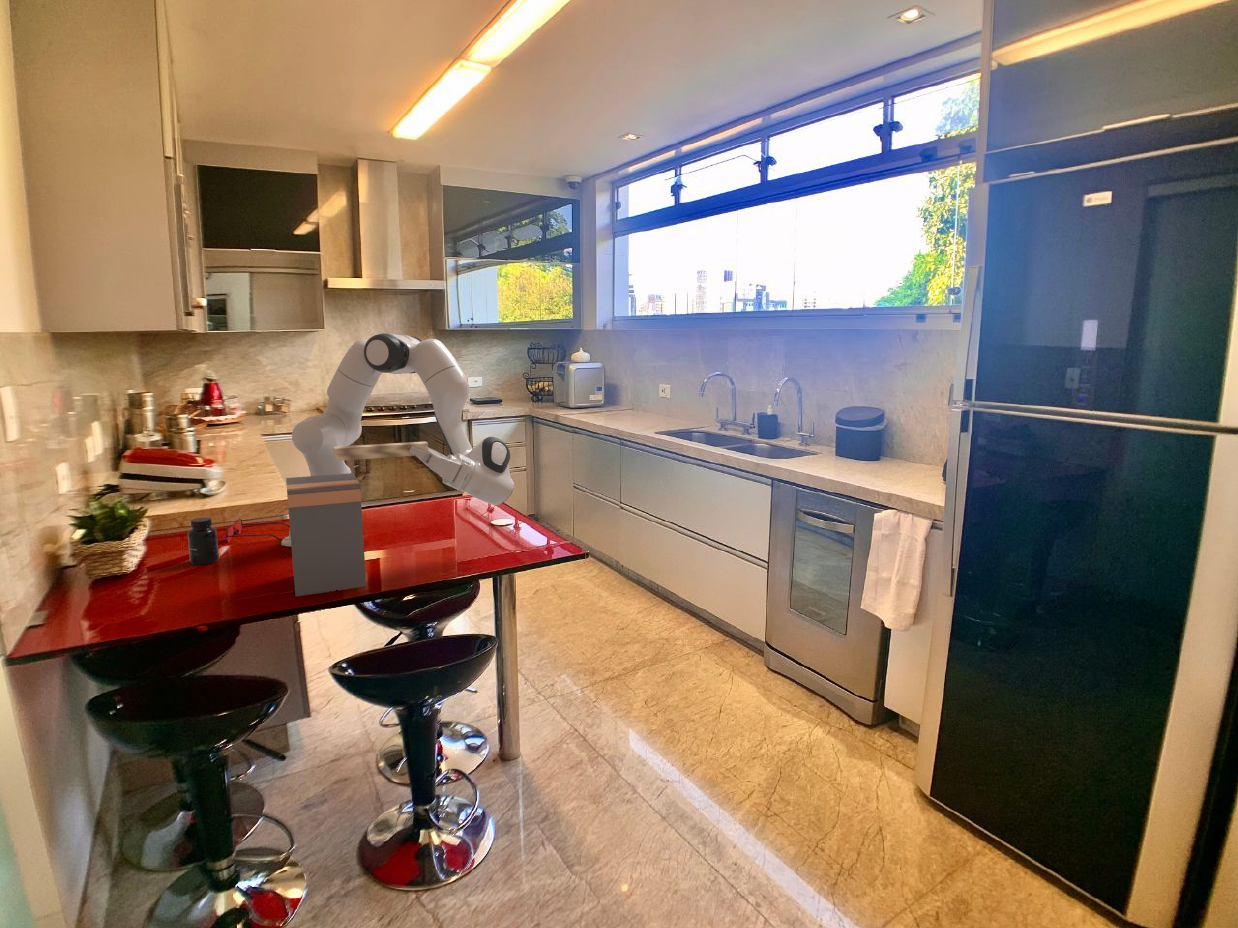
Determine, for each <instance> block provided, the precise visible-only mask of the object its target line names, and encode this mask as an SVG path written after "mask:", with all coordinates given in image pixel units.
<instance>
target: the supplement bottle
mask: <svg viewBox="0 0 1238 928" xmlns="http://www.w3.org/2000/svg"><path fill="white" fill-rule="evenodd" d="M212 525H213V523H212V517H206V516H204V517H202V516H201V517H196V518H193V519H191V520H190V528H191V529H190V530H188V532H187V540H188V553H189V554H188V555H189V562H190V564H192V565H194V566H203V565H210V564H214V563H216V562H217V561H219V558H220V556H219V555H220V554H219V543H218V541H219V540H218V531H217V529H216V528H215V527H214V526H212Z"/></svg>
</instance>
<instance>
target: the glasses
mask: <svg viewBox="0 0 1238 928" xmlns="http://www.w3.org/2000/svg"><path fill="white" fill-rule="evenodd" d="M278 524H279V525H285V526H286V527H288V528H290V524H287V523H285V522H264V523H263V522H262V523H259V522H258V523H243V520H242V519H241V518H239V519H237V520H235V521H234V523H233V524H230V525H229V526H228V528H226V535H223V537H222V538H224V539H225V538H226V541H227V543H229V544H230V541H231V540H232V538H237V537H240V538H241V537H242V538H243V537H261V536H270V537H273V538H275V539H276V540H279V541H280V542H282V540H283V539H282V538H280V537H278V536H276V535H274V534H271V533H270V534H269V533H266V534H264V533H263V534H244V535H243V534H241V533H242V529H243V526H261V525H262V526H263V525H278ZM234 529H235V530H234ZM239 534H240V535H239Z"/></svg>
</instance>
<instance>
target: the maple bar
mask: <svg viewBox="0 0 1238 928" xmlns="http://www.w3.org/2000/svg"><path fill="white" fill-rule="evenodd" d="M410 446H413V447H415V448H417V449H420V450H422V451H424V452H427V453H428V452H429V450H428V447H429V443H428V442H427V441H413V442H396V443H395V442H394V443H393V442H391V443H379V444H378V443H377V444H376V443H375V444H360V445H359V444H358V445H349V446H339V447H334V458H335V461H343V460H344V461H355V460H358V461H359V460H371V459H373V460H374V459H384V458H385V459H386V458H387V459H388V458H398V457H399V458H400V457H414V456H415V455H413V454H411V453H409V451H408V450H409V448H410ZM415 457H416V456H415Z"/></svg>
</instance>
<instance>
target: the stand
mask: <svg viewBox="0 0 1238 928" xmlns="http://www.w3.org/2000/svg"><path fill="white" fill-rule="evenodd" d="M285 481H286V484H285V485H286V497H287V507H288V518H289V519H288V520H289V526H290V527H289V532H290V535H291V554H292V555H291V556H292V557H291V559H292V570H293V572H292V573H293V582H294V593H295V597H302V596H310V595H317V594H323V593H331V592H336V590H338V591H343V590H351V589H356V588H357V589H359V588H364V587H367V579H366V578H367V577H366V576H367V575H366V560H365V559H366V558H365V544H364V527H363V525H364V524H363V512H362V511H363V510H362V508H363V507H362V493H361V492H362V491H361V490H362V489H361V483H360V482H359V480H358V479H357V477H356V475H355V473H353V472H351V473H349V474H335V475H321V476H311V475H309V476H297V477H285ZM330 591H331V592H330Z"/></svg>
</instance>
